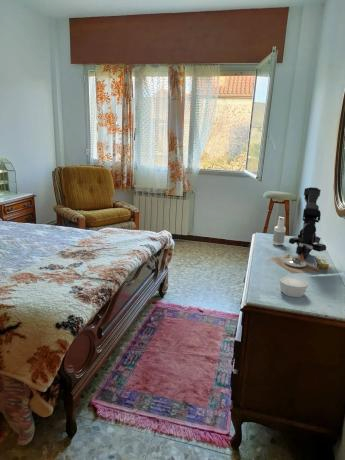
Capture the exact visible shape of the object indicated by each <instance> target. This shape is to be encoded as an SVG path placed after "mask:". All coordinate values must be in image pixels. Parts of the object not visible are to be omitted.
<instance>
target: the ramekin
mask: <svg viewBox="0 0 345 460" xmlns="http://www.w3.org/2000/svg"><path fill="white" fill-rule="evenodd" d="M279 284H280V291H281V293H282V292H283V294H284V295H285V296H287V295H288V297H290V298H301V297H303V296H305V293H306V292H307V288H308V287H309V283H308V282H307V281H306V280H305V279H302V278H299V277H295V276H282V277H281V278H280V279H279Z"/></svg>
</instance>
